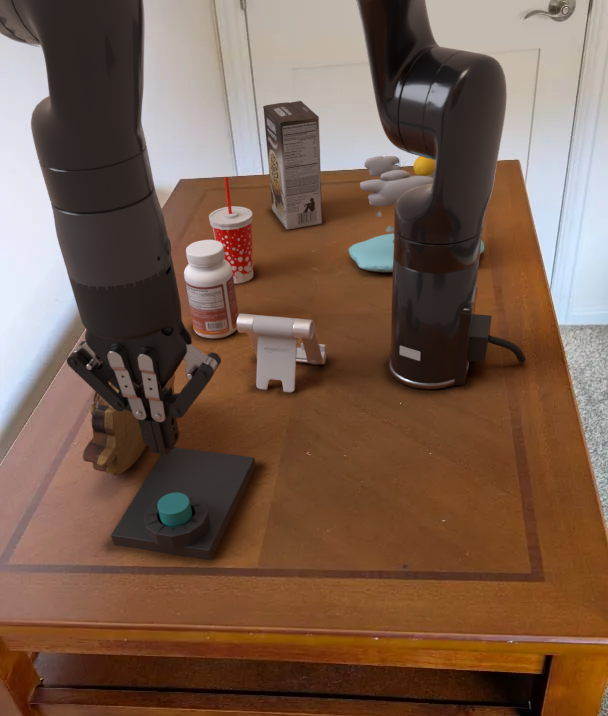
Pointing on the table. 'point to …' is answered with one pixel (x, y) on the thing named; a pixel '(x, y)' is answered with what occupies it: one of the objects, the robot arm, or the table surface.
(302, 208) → the coffee box
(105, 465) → the wooden carving
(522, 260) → the table surface
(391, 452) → the table surface
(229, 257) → the beverage cup
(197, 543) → the black push button board
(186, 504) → the tare button
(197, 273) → the pill bottle
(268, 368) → the tablet stand
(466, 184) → the robot arm
